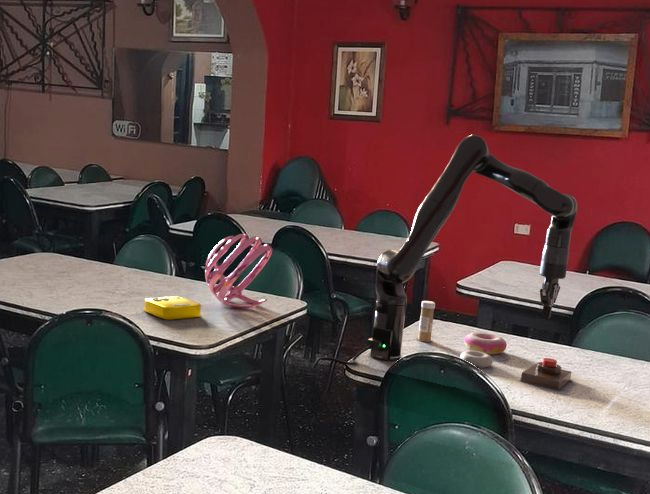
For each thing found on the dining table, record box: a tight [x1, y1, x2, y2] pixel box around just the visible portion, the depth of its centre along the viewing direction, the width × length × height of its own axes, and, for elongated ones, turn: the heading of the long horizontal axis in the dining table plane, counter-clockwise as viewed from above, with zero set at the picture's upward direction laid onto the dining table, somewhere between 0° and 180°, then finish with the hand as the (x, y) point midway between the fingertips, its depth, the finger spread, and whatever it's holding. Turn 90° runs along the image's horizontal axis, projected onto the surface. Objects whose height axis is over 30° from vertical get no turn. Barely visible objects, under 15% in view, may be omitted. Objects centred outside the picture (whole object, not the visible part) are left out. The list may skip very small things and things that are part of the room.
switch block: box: [520, 361, 572, 391], centre depth 254 cm, size 14×11×4 cm
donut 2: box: [459, 350, 493, 369], centre depth 266 cm, size 10×4×10 cm
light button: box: [542, 357, 558, 368], centre depth 255 cm, size 4×4×2 cm
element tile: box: [144, 295, 202, 321], centre depth 296 cm, size 15×15×5 cm
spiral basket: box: [204, 233, 274, 309], centre depth 318 cm, size 28×28×27 cm
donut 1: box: [464, 332, 507, 356], centre depth 284 cm, size 14×13×5 cm
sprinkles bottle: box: [417, 300, 436, 343], centre depth 290 cm, size 5×5×14 cm
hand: (545, 317), depth 256 cm, fingers closed
